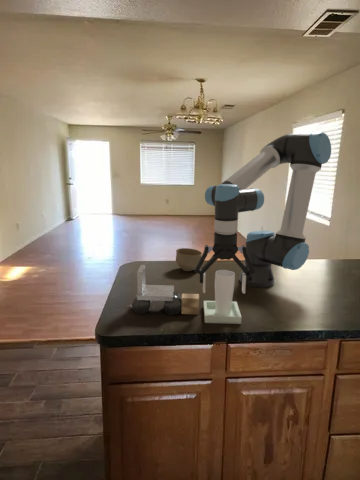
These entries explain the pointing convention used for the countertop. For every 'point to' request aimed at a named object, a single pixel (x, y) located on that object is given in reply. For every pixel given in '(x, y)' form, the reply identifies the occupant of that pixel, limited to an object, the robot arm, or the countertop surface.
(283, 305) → the countertop surface
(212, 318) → the tray
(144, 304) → the grey toy cart
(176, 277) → the countertop surface
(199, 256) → the bowl
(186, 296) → the wooden block
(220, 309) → the drinking glass
